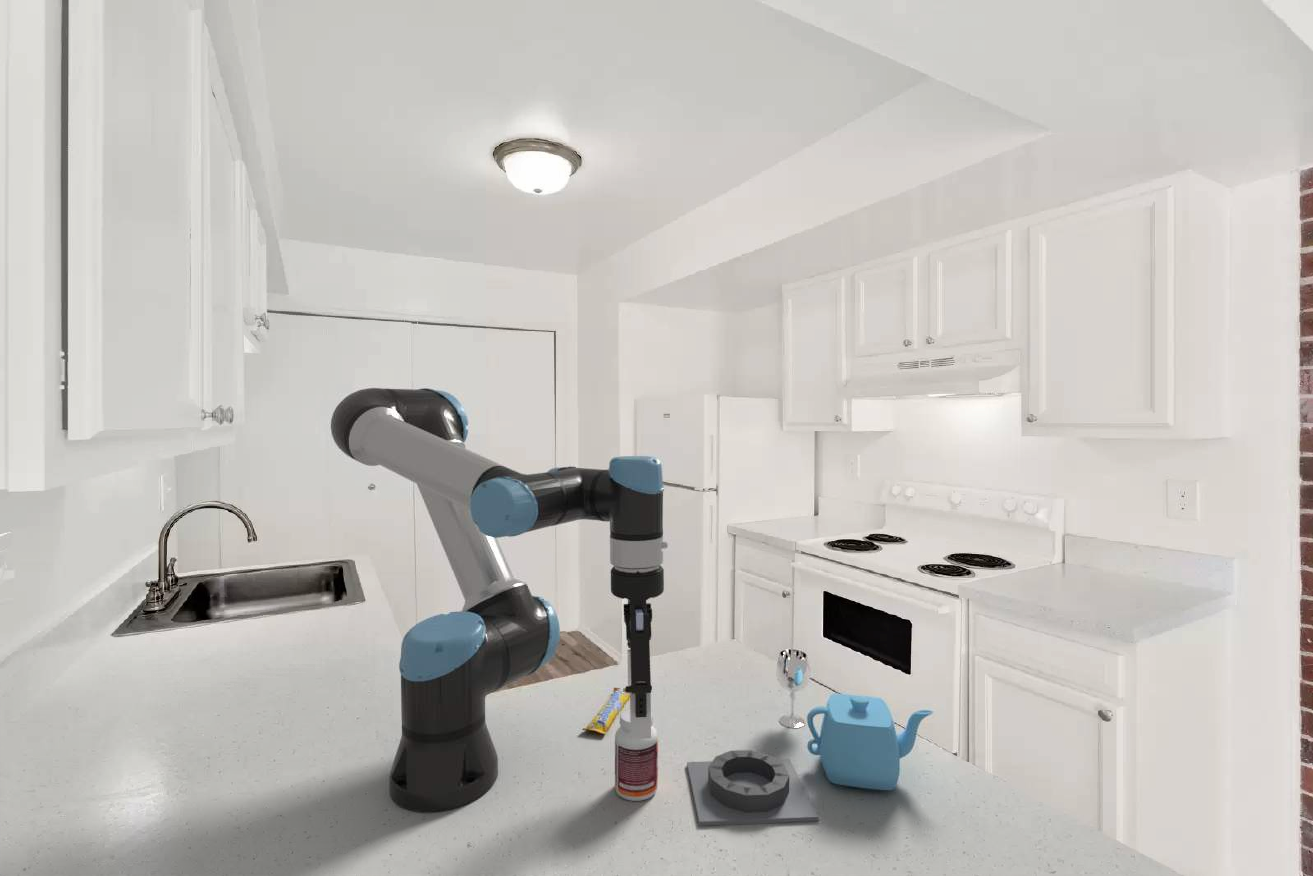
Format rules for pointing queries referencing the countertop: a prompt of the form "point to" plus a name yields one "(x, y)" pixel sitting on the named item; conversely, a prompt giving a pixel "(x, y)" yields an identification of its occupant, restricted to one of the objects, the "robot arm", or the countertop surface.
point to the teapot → (861, 741)
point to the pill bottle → (635, 762)
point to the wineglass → (792, 680)
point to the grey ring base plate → (748, 790)
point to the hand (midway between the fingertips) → (638, 713)
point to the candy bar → (609, 712)
